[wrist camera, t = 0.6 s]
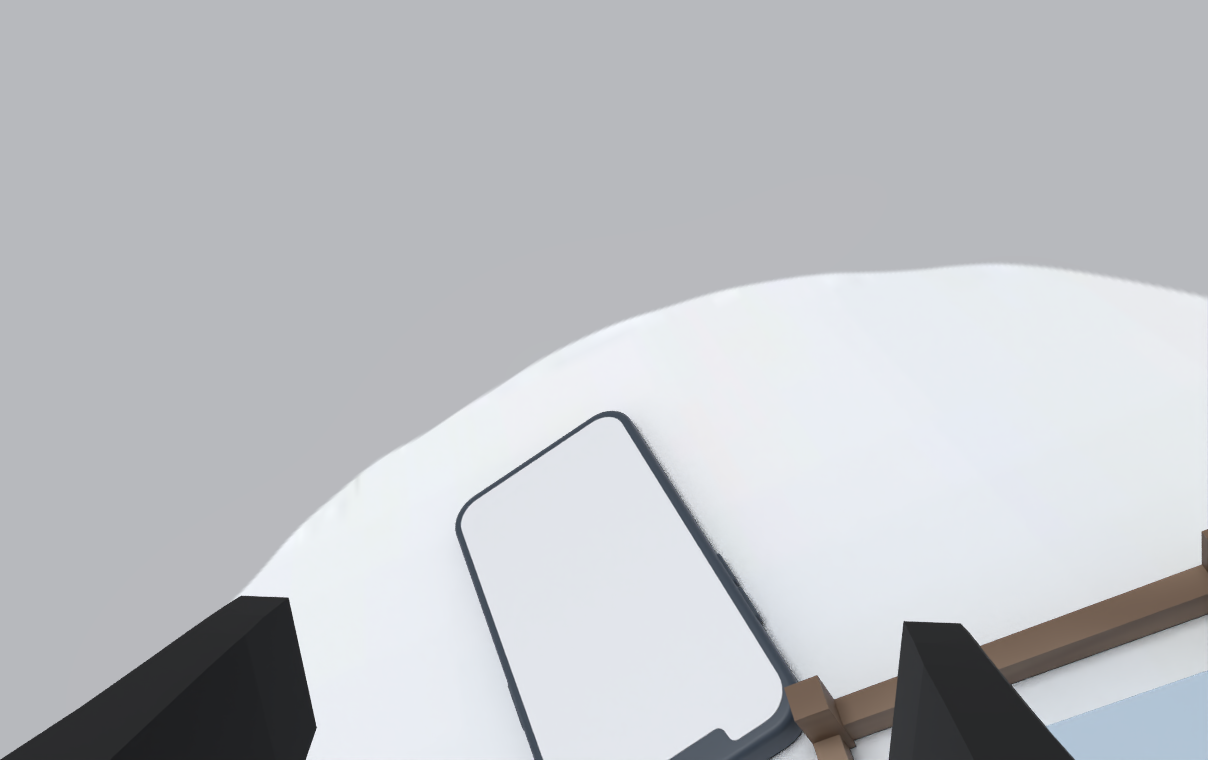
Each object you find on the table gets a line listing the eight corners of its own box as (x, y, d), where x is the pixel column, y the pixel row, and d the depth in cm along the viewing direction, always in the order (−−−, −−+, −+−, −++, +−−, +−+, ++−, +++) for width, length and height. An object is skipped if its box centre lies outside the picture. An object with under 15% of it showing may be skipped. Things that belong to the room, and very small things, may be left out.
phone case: (464, 532, 41) (589, 884, 29) (443, 512, 40) (566, 870, 28) (633, 418, 41) (831, 726, 29) (618, 395, 40) (816, 705, 28)
